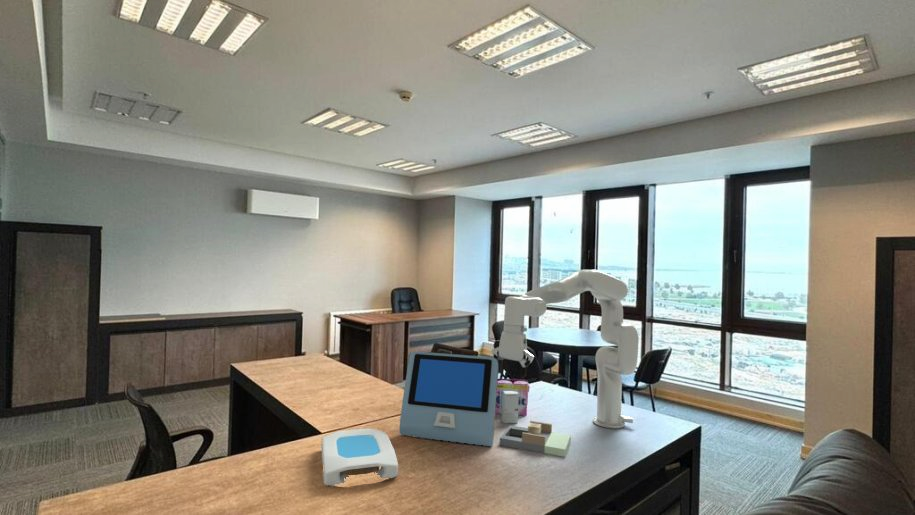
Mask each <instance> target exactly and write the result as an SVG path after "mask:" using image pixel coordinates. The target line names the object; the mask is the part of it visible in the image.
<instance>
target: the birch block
mask: <svg viewBox="0 0 915 515" xmlns="http://www.w3.org/2000/svg"><path fill="white" fill-rule="evenodd" d="M527 428H528V433H530V434H536V435H541V424H536V423H530V422H529V424H528V425H527Z"/></svg>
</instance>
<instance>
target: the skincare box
mask: <svg viewBox="0 0 915 515" xmlns="http://www.w3.org/2000/svg"><path fill="white" fill-rule="evenodd" d="M518 401H519V394H518V393H517V392H516V391H503V397H502V414H501V422H502V423H503V424H518V420H519V415H518Z"/></svg>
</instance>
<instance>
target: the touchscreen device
mask: <svg viewBox="0 0 915 515" xmlns="http://www.w3.org/2000/svg"><path fill="white" fill-rule="evenodd" d="M498 370H499V363H498V361H497V360H496V359H495V358H494V357H492V356H481V355H480V356H479V355H465V354H456V353H455V354H454V353H439V352H428V351H427V352H426V351H413V352H411V353H410V354H409V356H408V363H407V370H406V375H405V383H404V389H403V397H402V402H401V403H402V404H401V411H400V420H399V427H398V429H399V435H401V436H404V435H408V436H407V437H410V436H415V437H414V438H417V437H420V438H419V439H425V438H427V440H432V439H435V440H434V441H440V440H443V441H442V442H448V441H450V442H451V443H456V442H459V444H464V443H467V444H466V445H473V444H475V445H474V446H481V445H483V446H482V447H493V446H494V438H495V437H494V436H495V422H496V414H495V410H496V396H497V383H498V379H499V373H498ZM450 442H449V443H450Z"/></svg>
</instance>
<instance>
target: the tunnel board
mask: <svg viewBox="0 0 915 515" xmlns="http://www.w3.org/2000/svg"><path fill="white" fill-rule="evenodd" d="M530 423H536V424H541V435H536V434H530V433H528V427H522V426H516V425H511V424H510V425H509V426H508V427H507V429H506V430H505V431H504V432H503V434H502V435H500V437H499V446H503V447H509V448H513V449H514V448H515V449H520V450H524V451H530V452H536V453H540V454H541V453H542V454H547V455H552V456H553V455H554V456H559V457H563V458H565V457H566V456H567V453H568V450H569V448H570V446H571V442H572V435H571V434H566V433H560V432H559V433H558V432H553V431H552V429H553V425H552V424H553V423H548V422H541V421H534V420H530V421H529V424H530Z"/></svg>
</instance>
